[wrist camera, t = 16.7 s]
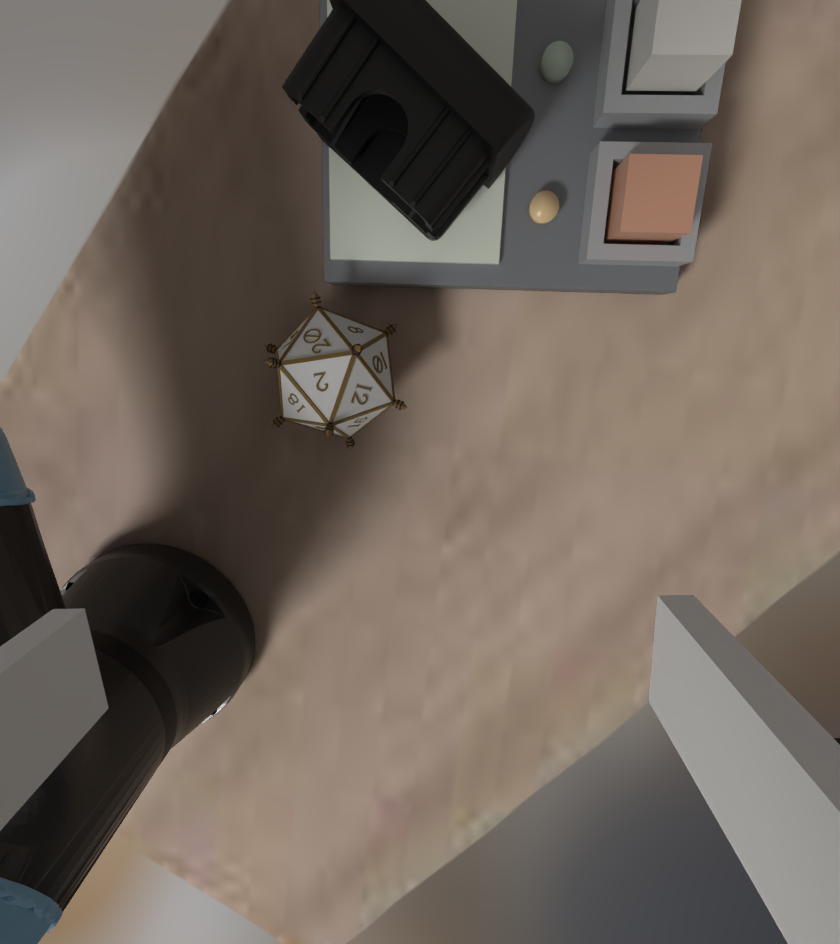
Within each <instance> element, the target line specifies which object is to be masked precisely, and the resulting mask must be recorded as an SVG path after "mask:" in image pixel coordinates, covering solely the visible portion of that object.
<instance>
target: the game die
mask: <svg viewBox="0 0 840 944" xmlns="http://www.w3.org/2000/svg"><path fill="white" fill-rule="evenodd" d="M311 300H312V302H313V303H312V304H313V305H314V306H315V309H314V310H313V311H312V312H311V313H310V314H309V315H308V316H307V317H306V318H305V319H304V320H303V322H302V323H301V324H300V325H299V326H298V327H297V328H296V329H295V330H294V331H293V332H292V333H291V334H290V335H289V336H288V337H287V338H286V340H285V341H284V342H283V343H282V344H281V345H280V346H279V347H278V348H276V347H275V345H272V343H271V344H269V345H264V346H265V347H266V349H267V351H268V352H271V353H275V355H276V359H274V358H269V359H267V360H265V362H266V363H267V364H268V366H269V367H270V368H271V367H273V368H275V367H277V377H278V388H279V399H280V410H281V416H280V417H278V418H277V417H276V419H275V420H273V424H272V427H280V425H282V423H283V421H285V420H286V421H289V422H292V423H296V424H299V425H303V426H306V427H310V428H313V429H317V430H320V431H323V432H325V433H326V434H327V436H328V437H330V436H331V435H337V436H341V437H344V438H347V441H346V443H347V447H349V448H350V449H351V450H352V449H353V446H354V444H355V443H354V440H353V439H352V436H353V435H354V434H356V433H357V432H358V431H359V430H361V429H362V428H363V427H365V426H366V425H367V424H368V423H370V422H371V421H372V420H374V419H375V418H376V417H377V416H379V415H380V414H381V413H383V412H384V411H385V410H387V409H388V408H389V407H390V406H392V405H394V406H395V407H396V408H399V410H401V409H405V408H407V407H406V405H405V404H404V402H403V401H400V400H395V395H394V386H393V378H392V369H391V361H390V352H389V344H388V335H391V334H392V333H394V332H396V328H397V325H398V324H395V325H390V326H389V327H387V329H386V330H385V331H381V330H379V329H376V328H374V327H371V326H368V325H366V324H363V323H360V322H358V321H355V320H353V319H350V318H347V317H345V316H342V315H340V314H337V313H334V312H332V311H329V310H327V309H324V308H321V306H320V303H321V301H320V297H319V296H318V295H317V294H316V293H315V291H314V293H313V296H312V299H311ZM272 427H271V428H272Z"/></svg>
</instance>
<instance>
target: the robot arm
mask: <svg viewBox="0 0 840 944" xmlns="http://www.w3.org/2000/svg"><path fill="white" fill-rule="evenodd" d="M34 501H36V499H35V495H34V493H33V491H32V490H30V489H28V488H27V487H26V485H25V482H24V480H23V477H22V475H21V472H20V470H19V467H18V465H17V462H16V460H15V457H14V455H13V453H12V450H11V448H10V445H9V443H8V440H7V438H6V436H5V434H4V432H3V430H2V429H1V428H0V944H37V943H38V942H39V941H40V940H41V938H42V937H43V935H44V934H45V933H47V932H49V931H50V930H51V929H52V928H54V927H55V926H56V924H57V923H58V921H59V919H60V917H61V916H62V913H63V911H64V909H65V908H66V906H67V905H68V903H69V902H70V900H71V899H72V897H73V896H74V894H75V893H76V891H77V889H78V888H79V886H80V885H81V883H82V882H83V880H84V879H85V877H86V876H87V874H88V873H89V871H90V870H91V868H92V867H93V865H94V864H95V862H96V861H97V859H98V858H99V856H100V855H101V853H102V851H103V850H104V849H105V847H106V845H107V844H108V842H109V841H110V839H111V838H112V836H113V835H114V833H115V832H116V830H117V829H118V827H119V826H120V824H121V823H122V821H123V820H124V818H125V817H126V815H127V814H128V812H129V811H130V809H131V808H132V806H133V804H134V803H135V801H136V800H137V798H138V797H139V795H140V794H141V792H142V791H143V789H144V788H145V786H146V785H147V783H148V782H149V780H150V779H151V777H152V776H153V774H154V773H155V771H156V769H157V768H158V767H159V765H160V764H161V762H162V761H163V759H164V758H165V756H166V755H167V753H168V752H169V750H170V749H171V748H172V747H173V746H175V745H176V744H177V743H178V742H180V741H181V740H182V739H183V738H184V737H185V736H186V735H188V734H189V733H190V732H191V731H192V730H194V729H195V728H196V727H197V726H198V725H200V724H202V723H204V722H206V721H207V720H209V719H210V718H212V717H213V716H214V715H216V714H217V713H218V712H220V711H221V710H222V709H223V708H224V707H225V706H226V705H227V704H228V703H229V701H230V700H231V699H232V698H233V696H234V695H235V693H236V692H237V690H238V689H239V687H240V685H241V684H242V682H243V680H244V679H245V677H246V675H247V673H248V671H249V669H250V667H251V664H252V660H253V656H254V649H255V636H254V629H253V624H252V620H251V617H250V614H249V612H248V609H247V607H246V605H245V603H244V601H243V599H242V598H241V596H240V595H239V593H238V592H237V590H236V589H235V588H234V587H233V585H232V584H231V583H230V582H229V581H228V580H227V579H226V578H225V577H224V576H223V575H222V574H221V573H220V572H219V571H218V570H216V569H215V568H214V567H212V566H211V565H210V564H208V563H207V562H205V561H203V560H202V559H200V558H198V557H196V556H194V555H192V554H190V553H188V552H185V551H182V550H179V549H176V548H173V547H168V546H163V545H156V544H136V545H129V546H124V547H121V548H117V549H115V550H112V551H110V552H108V553H106V554H104V555H102V556H101V557H99V558H97V559H96V560H94V561H93V562H91V563H90V564H88V565H86V566H85V567H83V568H82V569H81V570H79V571H78V572H77V573H76V574H75V575H73V576H72V577H71V578H70V579H69V580H68V581H67V582H66V584H65V585H64V586H63V587H62V589H61V590H59V587H58V584H57V581H56V578H55V575H54V572H53V569H52V566H51V563H50V560H49V557H48V554H47V551H46V549H45V546H44V543H43V540H42V537H41V533H40V530H39V527H38V524H37V521H36V518H35V514H34V511H33V508H32V505H31V503H32V502H34ZM649 702H650V704H651V706H652V708H653V709H654V711H655V713H656V715H657V716H658V718H659V719H660V722H661V723H662V725H663V727H664V729H665V730H666V731H667V734H668V735H669V737H670V739H671V741H672V742H673V744H674V746H675V748H676V749H677V751H678V753H679V755H680V756H681V758H682V760H683V762H684V763H685V765H686V767H687V768H688V770H689V772H690V774H691V776H692V777H693V779H694V781H695V783H696V784H697V786H698V788H699V789H700V791H701V793H702V795H703V797H704V798H705V800H706V802H707V803H708V805H709V807H710V809H711V810H712V812H713V814H714V816H715V817H716V819H717V821H718V823H719V824H720V826H721V828H722V829H723V831H724V833H725V835H726V836H727V838H728V840H729V842H730V843H731V845H732V847H733V849H734V850H735V852H736V854H737V856H738V857H739V859H740V861H741V863H742V864H743V866H744V868H745V870H746V871H747V873H748V875H749V877H750V878H751V880H752V882H753V884H754V885H755V887H756V889H757V890H758V892H759V894H760V896H761V898H762V899H763V901H764V903H765V905H766V906H767V908H768V910H769V911H770V913H771V915H772V917H773V918H774V920H775V922H776V924H777V925H778V927H779V929H780V931H781V932H782V934H783V936H784V938H785V939H786V941H787V943H788V944H840V738H832V736H831V735H830V734H829V733H828V732H827V731H826V730H825V729H824V728H823V727H822V726H821V725H820V724H819V723H818V722H817V721H816V720H815V719H814V718H813V717H812V716H811V715H810V714H809V713H808V712H807V711H806V710H805V709H804V708H803V707H802V706H801V705H800V704H799V703H798V702H797V701H796V700H795V699H794V698H793V697H792V696H791V695H790V694H789V693H788V692H787V690H786V689H784V687H783V686H782V685H781V684H780V683H779V682H778V681H777V680H776V679H775V678H774V677H773V676H772V675H771V674H770V673H769V672H768V671H767V670H766V669H765V668H764V667H763V666H762V665H761V664H760V663H759V662H758V661H757V660H756V659H755V658H754V657H753V656H752V655H751V654H750V653H749V652H748V651H747V650H746V649H745V648H744V647H743V645H742V644H741V643H740V642H739V641H738V640H737V639H736V638H735V637H734V636H733V635H732V634H731V633H730V632H729V631H728V630H727V629H726V628H725V627H724V626H723V625H722V624H721V623H720V622H719V621H718V620H717V619H716V618H715V617H714V616H713V615H712V614H711V613H710V612H709V611H708V610H707V609H706V608H705V607H704V606H703V605H702V604H701V603H700V602H699V601H698V600H697V598H696V597H695V596H694V595H671V596H658V599H657V611H656V622H655V634H654V646H653V658H652V669H651V681H650V693H649Z"/></svg>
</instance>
